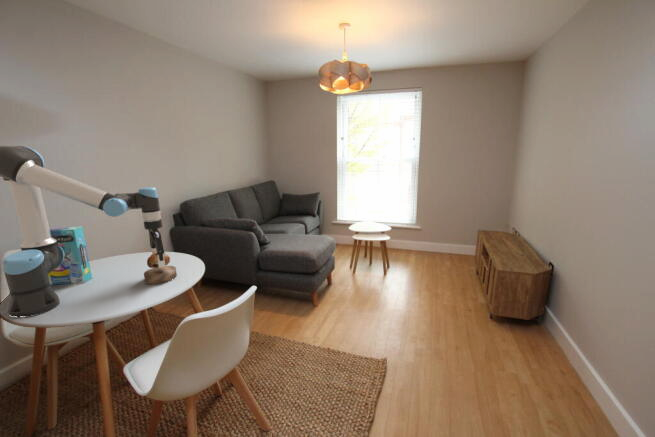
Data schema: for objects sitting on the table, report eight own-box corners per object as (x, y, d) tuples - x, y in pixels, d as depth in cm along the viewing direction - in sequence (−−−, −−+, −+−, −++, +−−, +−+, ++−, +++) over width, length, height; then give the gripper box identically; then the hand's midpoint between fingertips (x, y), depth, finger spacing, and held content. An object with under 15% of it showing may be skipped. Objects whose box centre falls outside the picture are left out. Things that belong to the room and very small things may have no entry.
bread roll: (173, 268, 154) (175, 253, 155) (160, 267, 144) (162, 250, 145) (155, 268, 155) (157, 252, 156) (140, 267, 145) (143, 250, 146)
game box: (39, 285, 146) (25, 231, 140) (49, 280, 152) (37, 227, 146) (84, 283, 148) (73, 229, 142) (93, 278, 154) (82, 226, 148)
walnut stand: (148, 287, 142) (147, 279, 141) (142, 278, 153) (141, 270, 152) (180, 278, 151) (179, 271, 150) (172, 270, 162) (171, 263, 161)
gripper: (167, 222, 139) (173, 268, 144) (155, 215, 156) (162, 256, 161) (148, 225, 134) (156, 272, 139) (138, 217, 152) (145, 259, 156)
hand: (159, 263), depth 150 cm, fingers closed on bread roll, 10 cm apart
